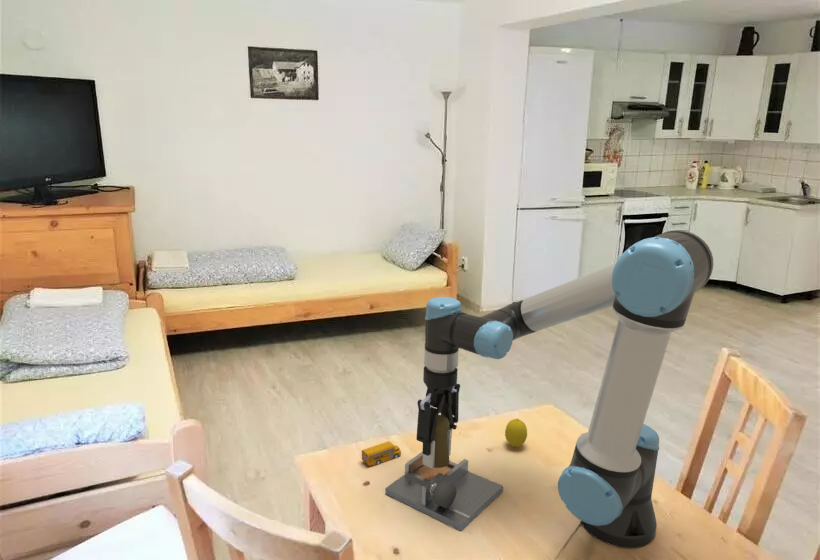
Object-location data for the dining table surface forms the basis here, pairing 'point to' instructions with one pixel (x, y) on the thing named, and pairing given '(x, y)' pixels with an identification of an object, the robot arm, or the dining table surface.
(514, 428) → the lemon
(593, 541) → the dining table surface
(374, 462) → the toy bus
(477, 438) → the dining table surface
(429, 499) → the plate
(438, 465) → the olive brown pawn
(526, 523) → the dining table surface
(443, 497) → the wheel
